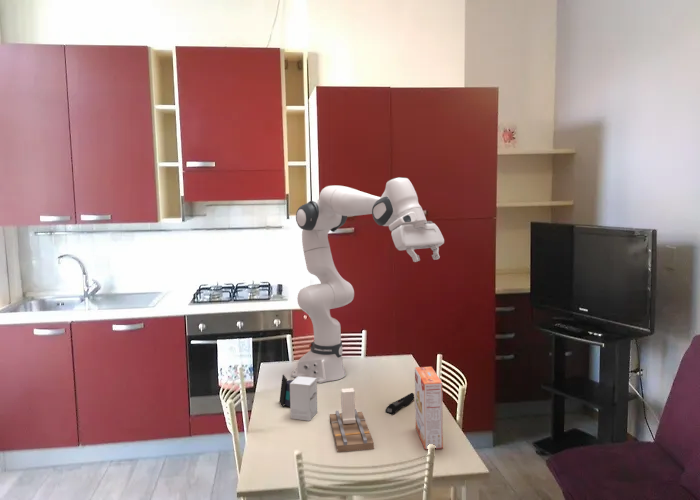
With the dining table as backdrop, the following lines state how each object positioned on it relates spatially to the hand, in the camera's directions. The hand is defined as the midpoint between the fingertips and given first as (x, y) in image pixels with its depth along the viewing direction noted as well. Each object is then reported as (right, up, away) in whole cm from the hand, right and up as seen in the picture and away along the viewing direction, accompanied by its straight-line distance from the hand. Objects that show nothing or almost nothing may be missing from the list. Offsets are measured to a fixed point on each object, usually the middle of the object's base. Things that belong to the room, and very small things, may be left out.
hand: (427, 260), depth 171 cm
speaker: (-46, -53, +22) cm, 74 cm away
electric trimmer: (-7, -53, +18) cm, 56 cm away
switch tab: (-25, -52, +2) cm, 58 cm away
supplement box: (-41, -54, +12) cm, 69 cm away
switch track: (-25, -55, -2) cm, 61 cm away
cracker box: (-1, -55, -6) cm, 56 cm away
